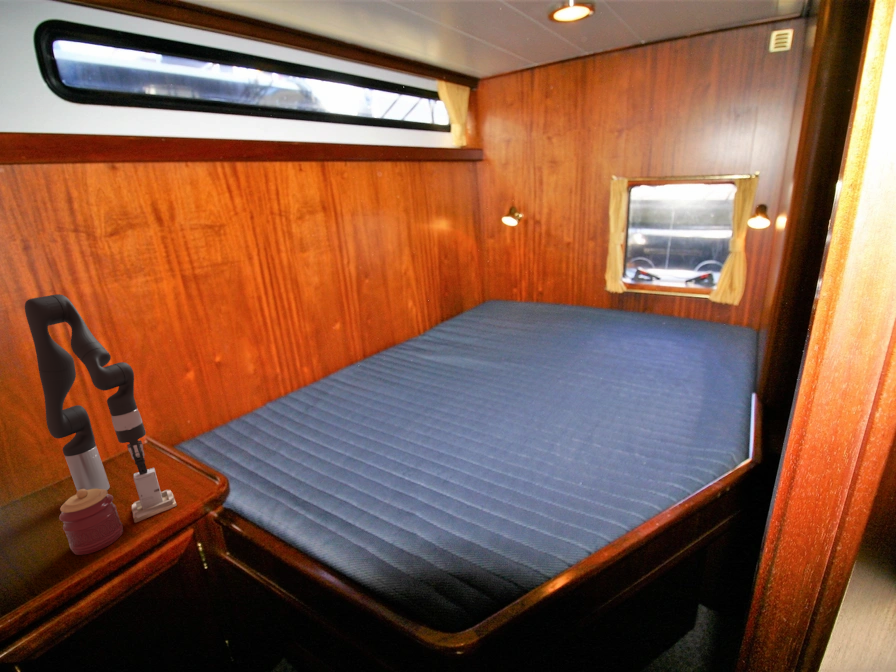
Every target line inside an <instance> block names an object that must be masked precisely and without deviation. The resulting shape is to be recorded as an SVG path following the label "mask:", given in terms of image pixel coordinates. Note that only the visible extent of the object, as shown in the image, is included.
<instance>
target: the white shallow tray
mask: <svg viewBox="0 0 896 672" xmlns="http://www.w3.org/2000/svg"><path fill="white" fill-rule="evenodd" d="M161 494H162V498H163V502H162V503H159V504H157V505H154V506H151V507H149V508H146V509H144V510H143V509H142V506H141V502H140V499H138V500H137V501H134V502H133V504H131V512H132V517H133V522H134V523H135V524H136V523H138V522H140V521H144V520H146V519H147V518H150V517H153V516H155V515H157V514H160V513H163V512H165V511H168V510H170V509H173V508H174V507H177V506H178V504H177V502H176V499H175V495H174V494H173V492H172V491H171V489H165V490H163V491H161Z"/></svg>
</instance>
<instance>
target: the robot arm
mask: <svg viewBox="0 0 896 672" xmlns="http://www.w3.org/2000/svg"><path fill="white" fill-rule="evenodd" d="M24 313H25V317H26V320H27V324H28V327H29V330H30V334H31V337H32V340H33V344H34V349H35V354H36V362H37V368H38V373H39V378H40V382H41V386H42V391H43V396H44V404H45V406H44V407H45V420H46V426H47V429H48V431H49V433H50V434H49V435H51V437H53V438H54V439H63V438H66V437H70V436H71V435H74V434H75V435H74V436H73V437H72V439H70V441H68V442H67V443H66V444H64V445H63V447H62V453H63V455H64V456H63V457H64V458H65V461H66V464H67V466H68V469H69V473H70V475H71V477H72V478H71V479H72V480H73V483H74V486H75V490H76V492H77V491H78V490H80V489H86V490H89V489H105V490H107V491H108V490H109V489H110V487H111V486H110V483H109V479H108V476H107V473H106V470H105V467H104V465H103V462H102V459H101V456H100V452H99V450H98V448H97V447H98V446H97V444H96V439H95V434H94V432H93V431H94V430H93V427H92V424H91V420H90V416H89V414H88V411H87V410H86V408H84V406H82V405H80V404H79V405H78V404H77V405H73V406H70V407H66V408H64V403H65V400H66V397H67V396H68V394H69V392H70V391H71V389H72V387H73V385H74V383H75V381H76V379H77V373H76V366H75V365H76V364H75V360H74V357H73V356H72V355H71V353H69V352H68V350H66V349H65V348H63V347H62V346H61V345H60V344H58V343H57V342H56V341H55V340H54V339H53V338H52V337H51V334H50V332H49V326H52V325H58V324H62V323H67V324H68V325H69V327H70V328H71V336H70V337H71V338H70V347H71V350H72V353H74V356H76V357H77V358H78V360H80V362H82V364H83V365H84V366H85V369H87V371H88V374H89V377H90V379H91V382H92V384H93V386H94V387H95V388H96V389H98V390H100V391H103V392H104V391H109V390H112V389H115V388H118V389H117V391H116V392H115V393H113V394H112V395H110V396H109V397H108V398H107V400H106V404H107V407H108V410H109V413H110V416H111V422H112V426H113V428H114V432H115V435H116V439H117V441H118V443H120V444H126V445H127V450H128V452H129V453H130V456H131V459H132V460H134V464H135V466H136V467H137V470H138V472H139V474H140V475H142V474H145V473H147V469H148V468H147V466H146V465H147V464H146V459H145V456H146V455H145V451H144V444H143V442H142V440H141V439H142V438H143V437H144V436H145V435H146V433H147V432H146V428H145V426H144V425H145V424H144V423H143V422H144V421H143V419H142V416H141V413H140V411H139V408H138V405H137V402H136V399H135V396H134V395H135V394H134V393H135V389H134V387H135V373H134V372H135V371H134V369H133V368H132V367H131V365H130V364H129V363H127V362H124V361H121V362H117V363H113V364H110V365H108V363H110V361H111V359H112V358H111V357H112V356H111V354H110V352H109V351H107V349H106V348H105V347H104V346H103V344H102V343H100V341H98V339H97V338H96V337H95V336H94V334H93V333H92V332H91V330H90V329H89V327H88V325H87V324H86V322H85V321H84V319H83V318H82V315H81V314H80V313H79V311H78V309H77V308H76V307H75V305H74V304H73V302H72V301H71V300H70V298H68V297H67V296H66V295H63V294H51V295H45V296H38V297H34V298H30V299H27V300H26V301H25V304H24ZM127 443H128V444H127Z"/></svg>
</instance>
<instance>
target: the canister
mask: <svg viewBox="0 0 896 672" xmlns="http://www.w3.org/2000/svg"><path fill="white" fill-rule="evenodd" d="M108 492H109V491H108V490H105V489H89V490H86V489H80V490H78V491H77V490H76V494H74V495H72V496H70V497H69V498H68V499H66V500H65V502H64V503H63V504H62V505H61V506H60V508H59V510H60V512H61V513H60V515H59V517H58V519H59V521H61V522H62V523H63V525H62V529H63V531H64V532H65V535H66V538H67V541H68V544H69V545H68V546H69V548H70V550H71V552H72V553H73V554H75V555H77V556H82V555H88V554H89V555H90V554H93V553H95V552H98V551H100V550H103V549H105V548H107V547H108V546H110V545H112V544H113V543H115V542H116V541H118V539H119V538H120V537H121V536H122V534H123V533H124V529H123V526H124V525H123V523H122V521H121V520H120V519H121V518H120V516H119V513H118V510H117V505H116V504H114V503H113V501H114V496H113V495H112V494H109V493H108Z"/></svg>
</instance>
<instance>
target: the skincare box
mask: <svg viewBox="0 0 896 672" xmlns="http://www.w3.org/2000/svg"><path fill="white" fill-rule="evenodd" d="M133 482H134V485H135V488H136V491H137V496H138V498H139V499H138V500H140V502H141V506H142V509H143V510H144V509H146V508H149V507H151V506H154V505H157V504H159V503H162V502H163V498H162V494H161V492H162V491H161V487H160V483H159V481H158V477H157V473H156V469H155V467H152V468H151V467H150V468H147V473H145V474H142V475H140V474H139V471H138V472H135V473H133Z"/></svg>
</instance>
